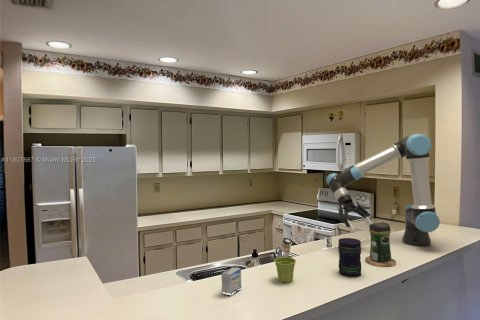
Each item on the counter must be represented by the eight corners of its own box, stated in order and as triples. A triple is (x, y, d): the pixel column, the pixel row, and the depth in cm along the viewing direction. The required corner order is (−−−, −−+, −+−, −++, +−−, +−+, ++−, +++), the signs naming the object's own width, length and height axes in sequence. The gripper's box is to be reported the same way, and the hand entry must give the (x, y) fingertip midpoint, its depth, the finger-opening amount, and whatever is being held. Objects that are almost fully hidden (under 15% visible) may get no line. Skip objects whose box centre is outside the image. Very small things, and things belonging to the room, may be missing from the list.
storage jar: (345, 268, 153) (344, 236, 153) (365, 273, 146) (364, 240, 146) (334, 273, 146) (334, 240, 146) (355, 279, 139) (354, 245, 139)
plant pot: (282, 286, 133) (282, 265, 133) (270, 278, 141) (270, 259, 141) (300, 281, 137) (300, 261, 137) (287, 274, 146) (287, 255, 146)
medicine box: (231, 297, 124) (230, 274, 124) (221, 294, 126) (221, 272, 126) (241, 289, 131) (241, 268, 130) (232, 287, 133) (232, 266, 133)
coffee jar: (382, 256, 166) (381, 220, 165) (394, 261, 158) (393, 223, 158) (366, 258, 163) (366, 222, 162) (377, 263, 155) (377, 225, 155)
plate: (382, 256, 169) (382, 254, 169) (402, 265, 155) (402, 263, 155) (359, 259, 165) (359, 256, 165) (377, 268, 152) (377, 265, 152)
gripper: (356, 198, 191) (376, 230, 179) (322, 203, 181) (341, 237, 169) (363, 191, 186) (384, 223, 174) (329, 195, 176) (348, 229, 163)
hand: (362, 230), depth 171 cm, fingers open, 13 cm apart
